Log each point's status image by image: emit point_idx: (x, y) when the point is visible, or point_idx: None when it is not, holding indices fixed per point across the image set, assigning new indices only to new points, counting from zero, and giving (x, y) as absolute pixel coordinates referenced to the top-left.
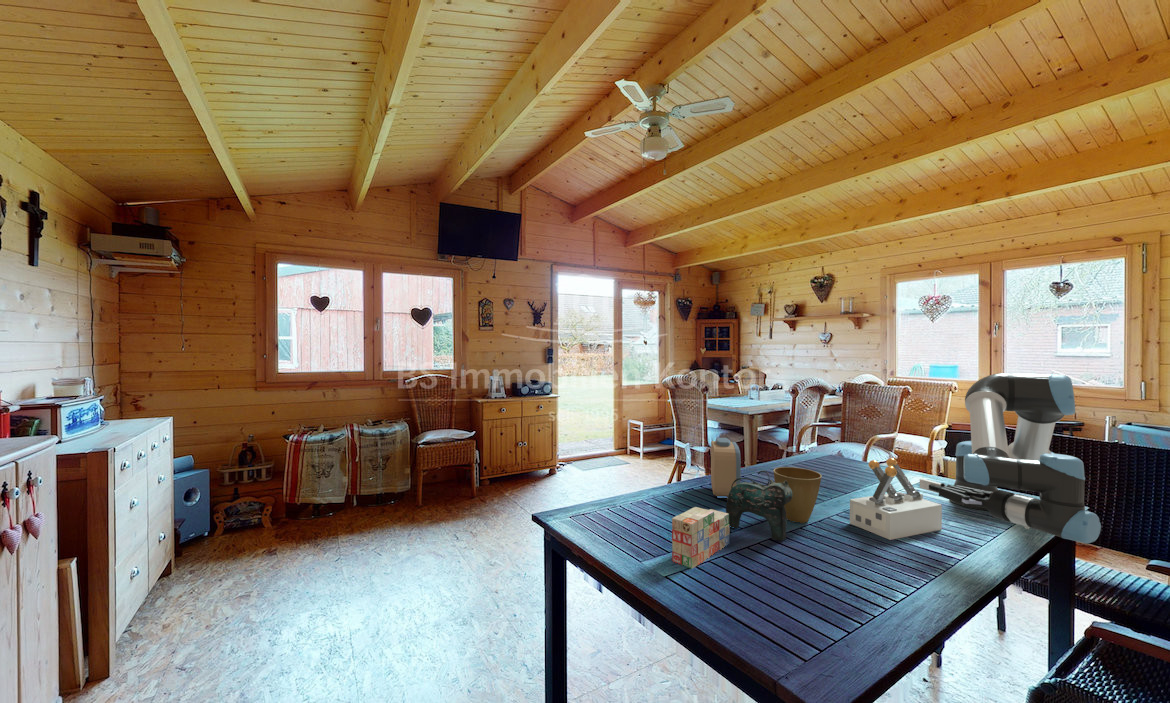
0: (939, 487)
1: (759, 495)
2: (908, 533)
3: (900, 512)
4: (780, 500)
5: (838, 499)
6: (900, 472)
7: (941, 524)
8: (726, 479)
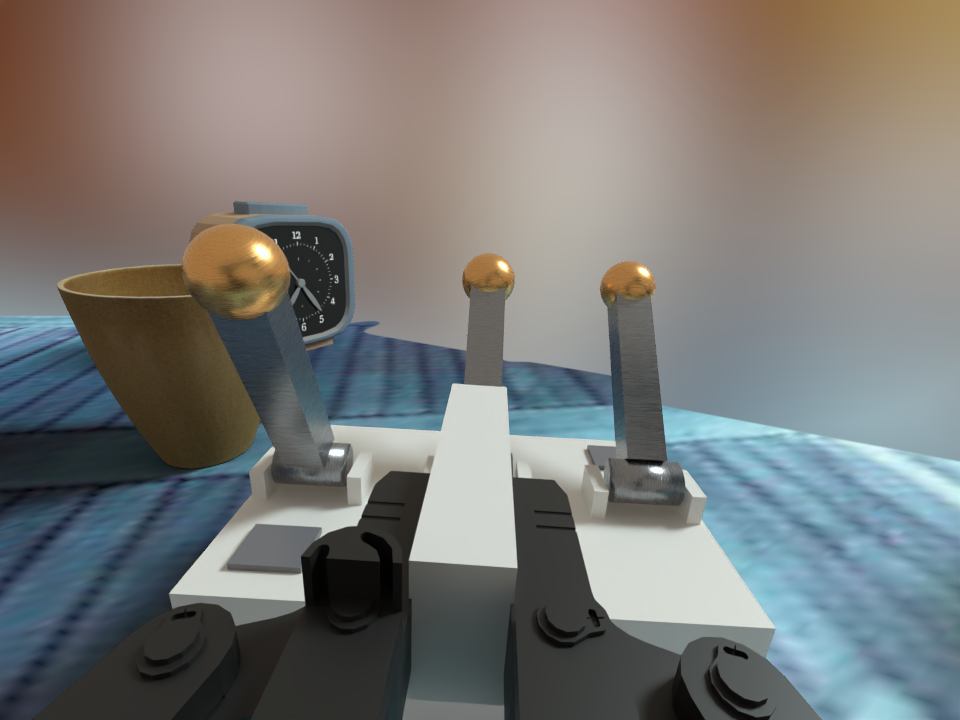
0: (143, 629)
1: None
2: None
3: (284, 603)
4: None
5: (530, 416)
6: (633, 341)
7: None
8: None
